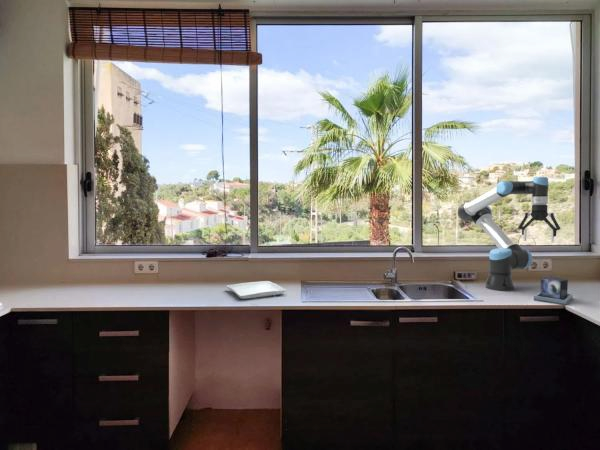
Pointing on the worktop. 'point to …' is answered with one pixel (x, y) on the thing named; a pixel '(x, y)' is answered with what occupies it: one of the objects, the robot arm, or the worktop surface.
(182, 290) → the worktop surface
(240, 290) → the square plate
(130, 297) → the worktop surface
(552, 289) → the small box
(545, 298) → the tray
